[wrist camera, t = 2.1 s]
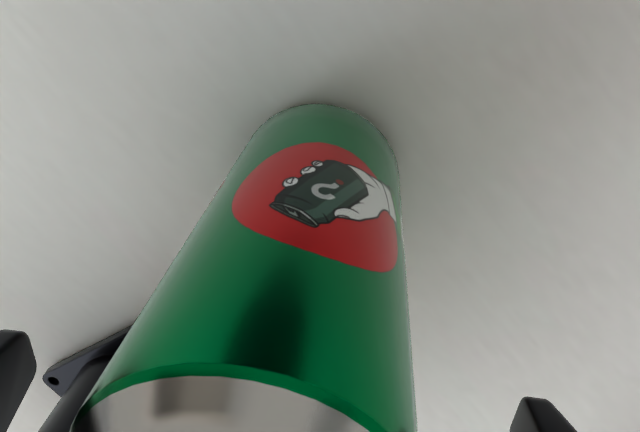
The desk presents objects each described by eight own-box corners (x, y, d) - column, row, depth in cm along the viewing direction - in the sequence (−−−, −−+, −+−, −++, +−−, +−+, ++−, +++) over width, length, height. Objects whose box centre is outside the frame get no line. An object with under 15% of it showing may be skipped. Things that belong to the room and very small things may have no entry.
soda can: (221, 123, 16) (-71, 473, 6) (374, 76, 15) (359, 415, 4) (277, 251, 18) (141, 671, 8) (414, 220, 17) (466, 669, 7)
